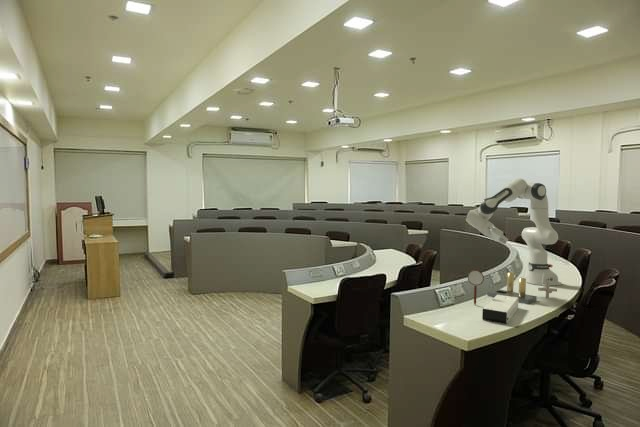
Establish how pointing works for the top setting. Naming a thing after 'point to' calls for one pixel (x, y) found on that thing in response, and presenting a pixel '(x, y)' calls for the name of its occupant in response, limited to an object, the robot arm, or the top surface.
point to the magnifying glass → (475, 280)
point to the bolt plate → (521, 295)
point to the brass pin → (510, 281)
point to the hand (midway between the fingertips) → (506, 241)
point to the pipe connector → (547, 289)
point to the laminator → (500, 308)
